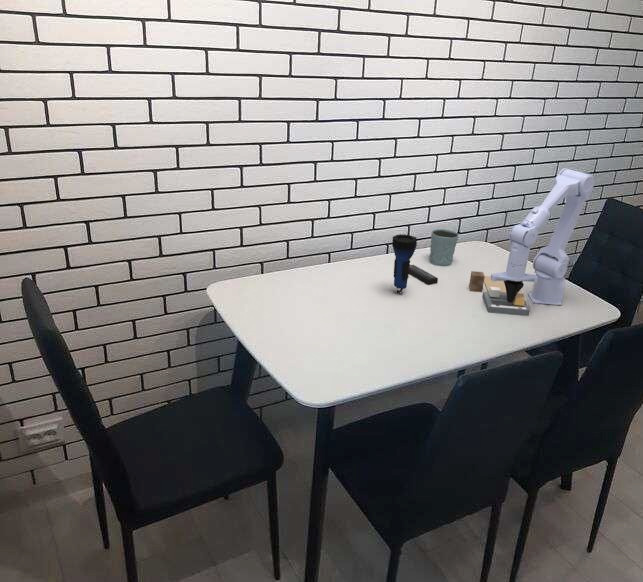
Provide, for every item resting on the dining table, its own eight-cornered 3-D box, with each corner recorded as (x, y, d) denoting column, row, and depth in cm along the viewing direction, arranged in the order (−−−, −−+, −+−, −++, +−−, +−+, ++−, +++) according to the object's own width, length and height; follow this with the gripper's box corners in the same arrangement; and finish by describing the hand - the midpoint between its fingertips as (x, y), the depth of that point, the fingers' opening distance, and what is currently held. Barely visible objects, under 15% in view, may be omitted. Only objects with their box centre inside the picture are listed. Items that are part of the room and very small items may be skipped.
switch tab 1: (497, 294, 193) (499, 287, 192) (499, 297, 191) (500, 290, 190) (488, 293, 194) (490, 286, 193) (490, 296, 191) (491, 289, 190)
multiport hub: (428, 286, 204) (428, 280, 203) (403, 271, 215) (403, 266, 214) (437, 284, 206) (438, 278, 205) (412, 270, 217) (413, 264, 216)
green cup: (423, 258, 227) (426, 229, 222) (445, 256, 231) (449, 228, 226) (436, 268, 219) (440, 238, 214) (459, 265, 222) (463, 236, 217)
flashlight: (385, 296, 194) (391, 240, 185) (388, 287, 201) (394, 232, 192) (409, 299, 192) (416, 243, 184) (411, 290, 199) (418, 235, 191)
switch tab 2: (522, 302, 188) (523, 295, 187) (523, 305, 186) (525, 298, 185) (512, 301, 189) (514, 294, 188) (514, 304, 186) (515, 298, 185)
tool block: (480, 287, 204) (483, 272, 202) (481, 292, 200) (484, 276, 198) (468, 286, 204) (471, 271, 202) (470, 291, 201) (473, 275, 198)
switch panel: (520, 300, 196) (522, 294, 195) (528, 315, 185) (530, 309, 184) (482, 296, 197) (483, 291, 196) (487, 312, 186) (488, 306, 185)
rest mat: (514, 279, 212) (515, 278, 212) (522, 295, 199) (523, 293, 199) (481, 277, 213) (482, 275, 213) (487, 292, 200) (488, 291, 200)
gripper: (535, 258, 186) (527, 296, 191) (490, 257, 185) (484, 295, 191) (543, 266, 179) (534, 305, 185) (497, 265, 179) (490, 304, 184)
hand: (509, 301), depth 187 cm, fingers closed
